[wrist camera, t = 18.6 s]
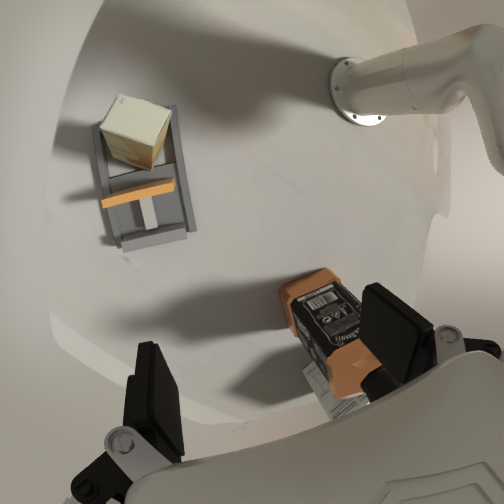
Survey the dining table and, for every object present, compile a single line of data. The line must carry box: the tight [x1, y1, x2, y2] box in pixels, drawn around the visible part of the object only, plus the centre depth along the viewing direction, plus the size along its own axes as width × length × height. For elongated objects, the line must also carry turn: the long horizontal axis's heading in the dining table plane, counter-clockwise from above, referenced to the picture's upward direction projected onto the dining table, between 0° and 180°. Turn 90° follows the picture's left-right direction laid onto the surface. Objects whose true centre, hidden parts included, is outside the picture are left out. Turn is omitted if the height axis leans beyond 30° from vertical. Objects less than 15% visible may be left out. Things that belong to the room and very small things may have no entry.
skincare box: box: [100, 93, 172, 171], centre depth 27 cm, size 6×4×12 cm
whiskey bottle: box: [279, 268, 403, 403], centre depth 34 cm, size 10×10×32 cm
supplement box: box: [302, 361, 370, 421], centre depth 50 cm, size 13×13×18 cm
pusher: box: [101, 178, 175, 230], centre depth 32 cm, size 9×6×7 cm
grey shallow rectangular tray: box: [92, 105, 197, 253], centre depth 33 cm, size 12×18×4 cm, turn 8°
